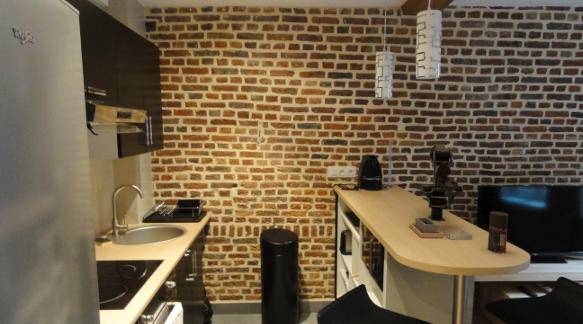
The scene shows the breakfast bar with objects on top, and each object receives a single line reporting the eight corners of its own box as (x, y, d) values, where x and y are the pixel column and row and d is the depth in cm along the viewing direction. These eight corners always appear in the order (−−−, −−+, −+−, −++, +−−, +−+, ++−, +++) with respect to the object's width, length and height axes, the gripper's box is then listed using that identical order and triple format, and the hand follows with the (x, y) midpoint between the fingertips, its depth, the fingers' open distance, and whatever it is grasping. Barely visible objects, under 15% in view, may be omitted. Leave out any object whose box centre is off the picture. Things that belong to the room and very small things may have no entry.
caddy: (415, 227, 142) (415, 217, 141) (426, 227, 142) (426, 217, 141) (424, 235, 131) (424, 224, 130) (436, 235, 131) (437, 224, 130)
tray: (409, 227, 144) (409, 223, 144) (428, 227, 144) (428, 223, 144) (421, 238, 129) (421, 233, 129) (442, 238, 129) (443, 233, 129)
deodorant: (498, 253, 112) (500, 216, 111) (484, 248, 118) (486, 212, 116) (509, 252, 114) (512, 214, 112) (495, 246, 119) (497, 210, 118)
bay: (441, 232, 136) (441, 228, 135) (462, 233, 135) (462, 229, 135) (449, 239, 128) (450, 234, 128) (472, 239, 127) (472, 234, 127)
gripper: (428, 176, 134) (427, 209, 135) (470, 176, 133) (468, 209, 134) (419, 173, 145) (418, 203, 146) (457, 173, 144) (456, 203, 146)
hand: (439, 205), depth 143 cm, fingers open, 9 cm apart
